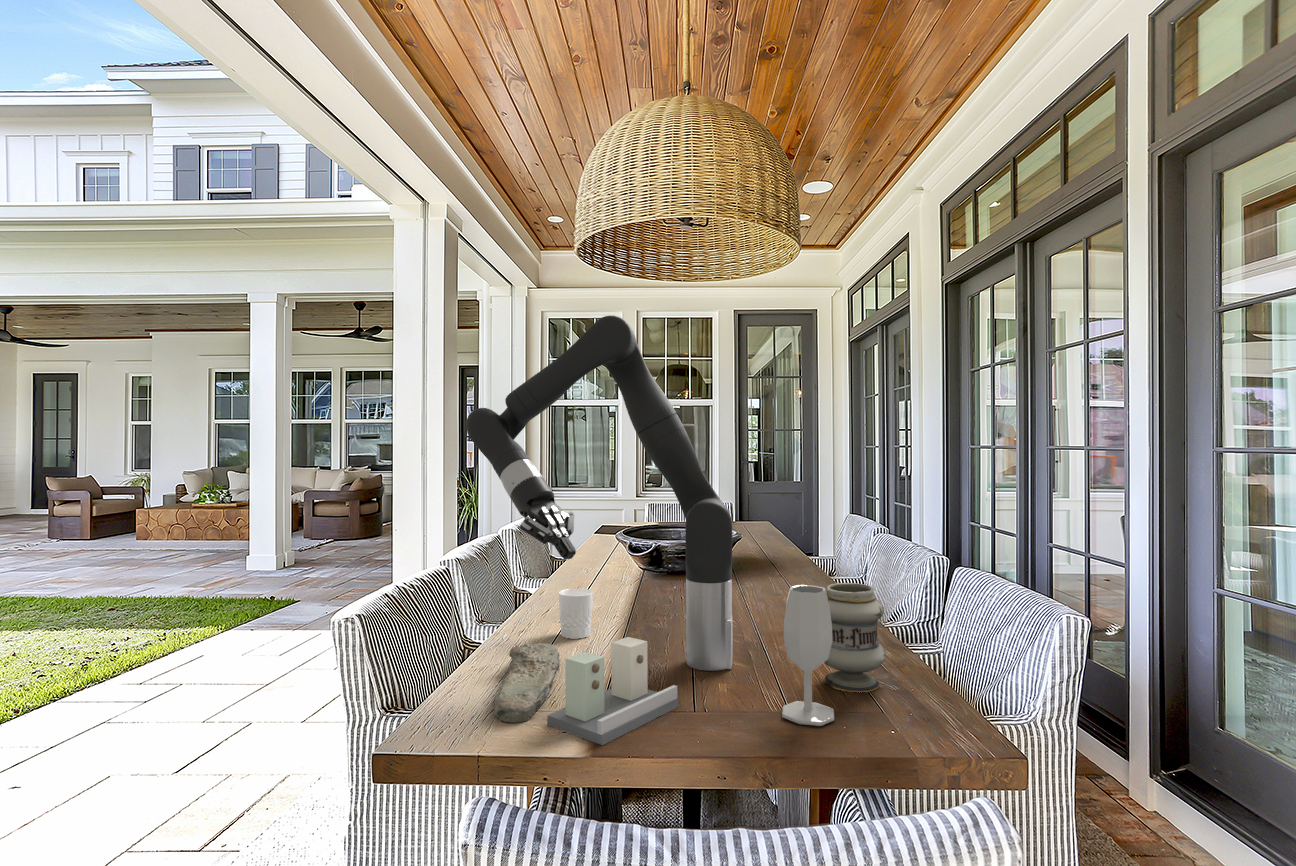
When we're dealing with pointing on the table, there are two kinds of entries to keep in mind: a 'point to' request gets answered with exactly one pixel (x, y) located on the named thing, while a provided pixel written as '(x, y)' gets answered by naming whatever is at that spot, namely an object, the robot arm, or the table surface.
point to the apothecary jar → (854, 637)
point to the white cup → (575, 612)
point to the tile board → (617, 715)
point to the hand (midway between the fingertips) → (570, 556)
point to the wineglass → (808, 648)
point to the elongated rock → (526, 681)
